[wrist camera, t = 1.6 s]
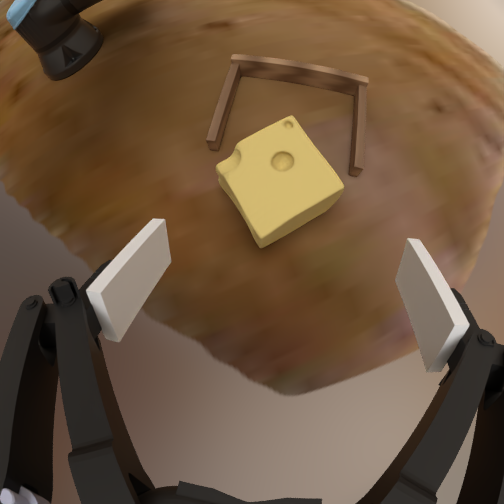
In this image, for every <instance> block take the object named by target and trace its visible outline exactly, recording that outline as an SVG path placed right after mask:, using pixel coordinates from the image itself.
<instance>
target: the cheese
mask: <svg viewBox="0 0 504 504" xmlns="http://www.w3.org/2000/svg"><path fill="white" fill-rule="evenodd" d="M216 172H217V174H218V176H219V184H220V186H221V187H222V188H223V190H224V191H225V192H226V193H227V195H228V196H229V197H230V198H231V200H232V201H233V202H234V204H235V205H236V207H237V208H238V210H239V212H240V213H241V215H242V217H243V218H244V220H245V222H246V223H247V225H248V227H249V229H250V231H251V233H252V236H253V238H254V240H255V241H256V243H257V245H258V246H259V247H260V248H264V247H266V246H267V245H269V244H271V243H273V242H275V241H276V240H278V239H280V238H282V237H284V236H285V235H287V234H289V233H291V232H292V231H294V230H296V229H297V228H299V227H301V226H302V225H304V224H305V223H307V222H309V221H310V220H312V219H314V218H315V217H317V216H319V215H321V214H322V213H324V212H326V211H327V210H328V209H329V208H330V207H331V206H332V205H333V204H334V203H335V202H336V201H337V200H338V198H339V197H340V196H341V194H342V193H343V190H344V185H343V183H342V181H341V180H340V178H339V177H338V175H337V174H336V173H335V171H334V170H333V168H332V167H331V166H330V165H329V163H328V162H327V161H326V160H325V158H324V157H323V156H322V155H321V153H320V152H319V151H318V150H317V148H316V147H315V146H314V144H313V143H312V142H311V140H310V139H309V138H308V136H307V135H306V133H305V132H304V131H303V129H302V128H301V126H300V125H299V123H298V122H297V121H296V119H295V118H294V117H293V116H289V117H286V118H284V119H282V120H280V121H278V122H276V123H274V124H272V125H270V126H268V127H266V128H264V129H262V130H260V131H258V132H257V133H255V134H253V135H251V136H249V137H247V138H245V139H243V140H242V141H240V142H239V143H238V144H237V145H236V147H235V150H234V152H233V154H232V155H231V156H230V157H229V158H227V159H226V160H224V161H222V162H220V163H218V164H217V165H216Z"/></svg>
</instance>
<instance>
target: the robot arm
mask: <svg viewBox="0 0 504 504" xmlns="http://www.w3.org/2000/svg"><path fill="white" fill-rule="evenodd" d="M100 1H102V0H15V1H14V3H13V4H12V5H11V7H10V8H9V10H8V12H7V20H8V21H9V23H10V24H11V25H12V27H13V29H14V30H16V31H17V32H18V33H19V34H20V36H21V37H22V38H23V39H24V40H25V41H26V42H27V43H28V44H29V45H30V46H31V47H32V48H33V49H34V50H35V51H36V53H37V54H38V56H39V59H40V62H41V64H42V67H43V70H44V73H45V74H46V75H47V76H48V77H49V78H50V79H51V80H60V79H63V78H66V77H68V76H70V75H72V74H73V73H75V72H76V71H78V70H79V69H81V68H82V67H83V66H84V65H85V64H87V63H88V62H89V61H90V60H91V59H92V58H93V56H94V55H95V54H96V53H97V51H98V50H99V48H100V47H101V45H102V42H103V35H102V34H101V32H100V31H99V29H98V28H97V27H95V26H93V25H92V24H90V23H89V22H87V21H86V20H84V19H82V18H81V17H80V15H79V14H78V13H80V12H82V11H83V10H85V9H87V8H89V7H91V6H92V5H94V4H96V3H98V2H100ZM170 263H171V257H170V250H169V243H168V237H167V229H166V222H165V219H152V220H151V221H150V222H149V223H148V224H147V225H146V226H145V227H144V228H143V229H142V230H141V231H140V232H139V233H138V234H137V235H136V236H135V237H134V238H133V239H132V240H131V241H130V242H129V243H128V245H127V246H126V247H125V248H124V249H123V250H122V251H121V252H120V253H119V254H118V255H117V256H116V257H115V258H114V259H113V260H109V261H107V262H106V263H104V264H102V265H101V266H100V267H99V268H98V269H97V270H96V272H95V273H94V274H93V275H92V276H91V278H89V279H88V280H87V281H86V282H85V284H84V285H83V286H82V287H81V288H80V289H79V290H78V288H77V285H76V282H75V280H74V279H73V278H72V277H63V278H60V279H57V280H56V281H54V282H53V283H52V284H51V285H50V286H49V289H48V291H49V294H50V296H51V298H52V301H53V303H54V304H45V303H44V301H43V298H42V297H41V296H39V295H34V296H30V297H29V298H26V300H24V301H23V302H22V304H21V306H20V308H19V310H18V313H17V315H16V318H15V320H14V323H13V326H12V328H11V331H10V334H9V337H8V339H7V342H6V346H5V349H4V352H3V355H2V358H1V361H0V504H51V501H52V491H53V464H52V463H53V428H54V413H55V402H56V392H57V384H58V376H59V378H60V386H61V393H62V399H63V405H64V411H65V416H66V420H67V426H68V431H69V435H70V439H71V444H72V452H70V453H69V454H68V461H69V466H70V469H71V473H72V476H73V479H74V483H75V486H76V489H77V492H78V495H79V498H80V501H81V504H322V499H305V498H304V499H303V498H283V499H275V500H267V501H259V502H245V501H242V500H240V499H237V498H235V497H232V496H230V495H227V494H225V493H223V492H220V491H218V490H215V489H213V488H208V487H203V486H199V485H195V484H190V483H186V482H182V481H179V485H178V486H167V487H161V488H156V489H155V487H154V485H153V483H152V482H151V480H150V478H149V477H148V475H147V474H146V472H145V471H144V469H143V467H142V465H141V463H140V461H139V458H138V456H137V454H136V451H135V449H134V447H133V444H132V442H131V439H130V436H129V434H128V431H127V429H126V426H125V423H124V421H123V418H122V415H121V412H120V410H119V406H118V403H117V400H116V397H115V394H114V391H113V387H112V384H111V381H110V378H109V374H108V370H107V367H106V363H105V359H104V355H103V351H102V347H101V343H100V340H99V338H98V334H99V333H100V331H101V330H102V332H103V334H104V336H105V339H108V340H111V341H115V342H120V341H121V339H122V338H123V336H124V334H125V333H126V331H127V329H128V328H129V326H130V325H131V323H132V321H133V320H134V318H135V317H136V315H137V313H138V312H139V310H140V309H141V307H142V306H143V304H144V302H145V301H146V299H147V298H148V296H149V295H150V293H151V292H152V290H153V288H154V287H155V285H156V284H157V282H158V281H159V279H160V278H161V276H162V275H163V273H164V272H165V270H166V269H167V267H168V266H169V264H170ZM395 282H396V284H397V287H398V289H399V292H400V294H401V297H402V300H403V302H404V305H405V308H406V310H407V313H408V316H409V319H410V322H411V324H412V327H413V330H414V333H415V336H416V339H417V342H418V345H419V349H420V352H421V355H422V358H423V362H424V365H425V368H426V372H440V371H442V369H443V368H444V366H445V364H446V363H448V366H449V371H448V372H447V374H446V375H445V376H444V378H443V379H442V380H441V382H440V383H439V385H440V387H439V389H438V391H437V393H436V395H435V396H434V398H433V400H432V402H431V404H430V406H429V407H428V409H427V410H426V412H425V414H424V416H423V417H422V419H421V421H420V422H419V424H418V425H417V427H416V429H415V430H414V432H413V433H412V435H411V436H410V438H409V439H408V441H407V442H406V444H405V445H404V447H403V448H402V450H401V451H400V452H399V454H398V455H397V457H396V458H395V459H394V460H393V462H392V463H391V464H390V466H389V467H388V469H387V470H386V471H385V472H384V474H383V475H382V476H381V477H380V479H379V480H378V481H377V482H376V484H375V485H374V486H373V487H372V488H371V489H370V491H369V492H368V493H367V494H366V495H365V496H364V497H363V498H362V499H361V500H359V501H358V502H357V503H356V504H436V502H437V497H436V496H435V495H436V492H437V490H438V488H439V487H440V485H441V483H442V482H443V480H444V478H445V476H446V474H447V473H448V471H449V469H450V467H451V466H452V464H453V462H454V460H455V458H456V456H457V454H458V452H459V450H460V448H461V446H462V444H463V441H464V439H465V437H466V435H467V433H468V430H469V428H470V426H471V423H472V421H473V418H474V416H475V413H476V411H477V408H478V412H477V420H476V426H475V432H474V438H473V443H472V448H471V453H470V458H469V462H468V466H467V470H466V474H465V477H464V481H463V485H462V488H461V491H460V494H459V497H458V501H457V503H456V504H504V345H501V344H497V343H496V340H495V338H494V337H493V336H492V334H490V333H489V332H488V331H486V330H483V329H480V328H479V326H478V325H477V323H476V321H475V319H474V317H473V315H472V313H471V312H470V310H469V308H468V306H467V304H466V303H465V301H464V299H463V297H462V295H461V294H460V293H459V292H457V291H456V290H455V289H454V288H450V287H449V286H448V284H447V282H446V281H445V279H444V277H443V276H442V274H441V272H440V271H439V269H438V267H437V266H436V264H435V263H434V261H433V259H432V258H431V256H430V255H429V253H428V252H427V250H426V249H425V247H424V246H423V244H422V243H421V241H420V240H419V239H410V238H407V242H406V245H405V249H404V253H403V256H402V259H401V263H400V266H399V270H398V273H397V276H396V279H395Z"/></svg>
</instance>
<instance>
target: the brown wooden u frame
mask: <svg viewBox="0 0 504 504" xmlns="http://www.w3.org/2000/svg"><path fill="white" fill-rule="evenodd" d="M241 76H247V77H256V78H264V79H272V80H279V81H285V82H292V83H297V84H303V85H308V86H313V87H318V88H323V89H328V90H332V91H337V92H341V93H345V94H349V95H353V96H354V113H353V130H352V143H351V155H350V166H349V175H350V176H355V177H357V176H358V175H359V174H360V172H361V171H362V170H363V166H364V152H365V133H366V99H367V85H368V77H365V76H361V75H357V74H354V73H350V72H346V71H342V70H337V69H333V68H328V67H324V66H319V65H314V64H309V63H303V62H297V61H291V60H284V59H277V58H269V57H261V56H251V55H239V54H233V55H232V57H231V66H230V69H229V72H228V74H227V77H226V80H225V83H224V86H223V89H222V92H221V95H220V98H219V101H218V104H217V107H216V110H215V113H214V116H213V119H212V123H211V126H210V129H209V132H208V135H207V139H206V141H207V143H208V146H209V148H210V150H214V151H219V148H220V144H221V140H222V137H223V133H224V130H225V126H226V123H227V120H228V116H229V113H230V109H231V106H232V103H233V99H234V96H235V93H236V90H237V87H238V83H239V80H240V77H241Z"/></svg>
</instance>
